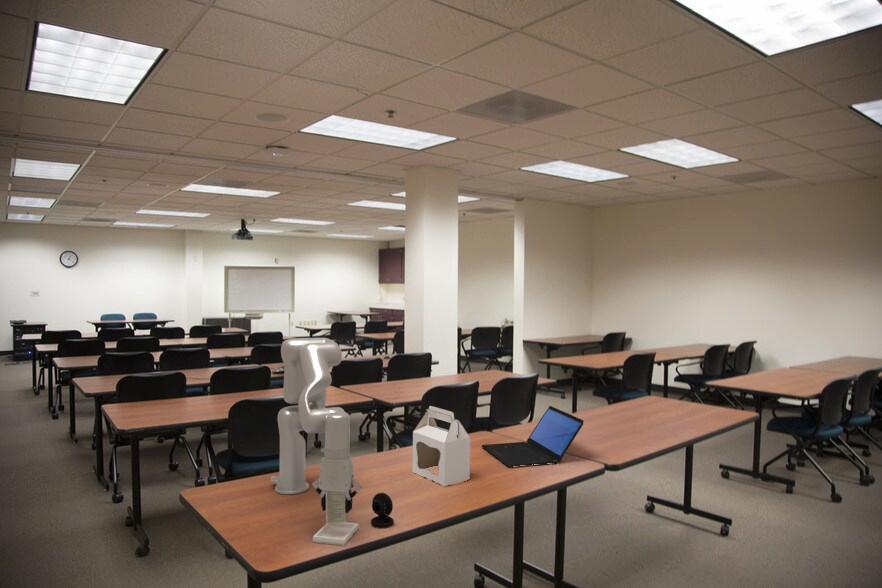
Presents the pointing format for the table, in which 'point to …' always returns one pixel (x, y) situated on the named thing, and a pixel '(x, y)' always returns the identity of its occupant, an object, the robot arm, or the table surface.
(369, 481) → the table surface
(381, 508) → the webcam
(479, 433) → the table surface
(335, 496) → the skincare box
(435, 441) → the gable box
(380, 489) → the table surface
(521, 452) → the laptop
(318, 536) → the tray
